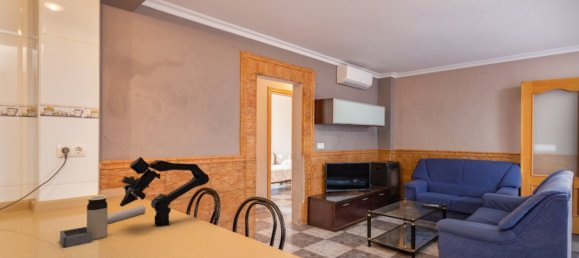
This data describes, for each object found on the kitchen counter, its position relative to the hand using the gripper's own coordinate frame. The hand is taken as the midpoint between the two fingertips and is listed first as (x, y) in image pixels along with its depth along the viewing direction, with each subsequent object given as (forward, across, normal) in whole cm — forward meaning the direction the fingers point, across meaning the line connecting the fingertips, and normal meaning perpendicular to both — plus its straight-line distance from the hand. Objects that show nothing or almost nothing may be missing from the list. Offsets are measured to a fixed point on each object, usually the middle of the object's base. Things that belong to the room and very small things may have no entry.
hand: (120, 205), depth 145 cm
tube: (+4, -26, +14) cm, 30 cm away
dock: (+21, 0, -3) cm, 22 cm away
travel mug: (+16, 0, +2) cm, 16 cm away
